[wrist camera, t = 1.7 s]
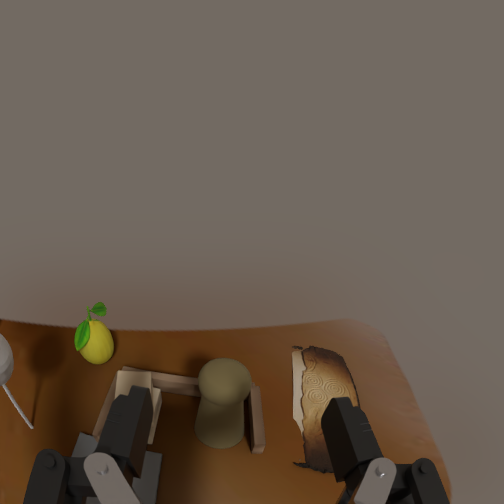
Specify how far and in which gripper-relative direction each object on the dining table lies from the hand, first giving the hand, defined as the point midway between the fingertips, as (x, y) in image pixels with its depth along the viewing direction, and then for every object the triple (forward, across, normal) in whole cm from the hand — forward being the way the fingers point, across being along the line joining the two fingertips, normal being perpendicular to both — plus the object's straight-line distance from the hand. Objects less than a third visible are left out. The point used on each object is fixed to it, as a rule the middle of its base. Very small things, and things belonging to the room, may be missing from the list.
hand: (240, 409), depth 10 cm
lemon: (+20, +18, +20) cm, 33 cm away
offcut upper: (+11, +10, +17) cm, 23 cm away
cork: (+11, 0, +20) cm, 23 cm away
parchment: (+16, -15, +20) cm, 30 cm away
